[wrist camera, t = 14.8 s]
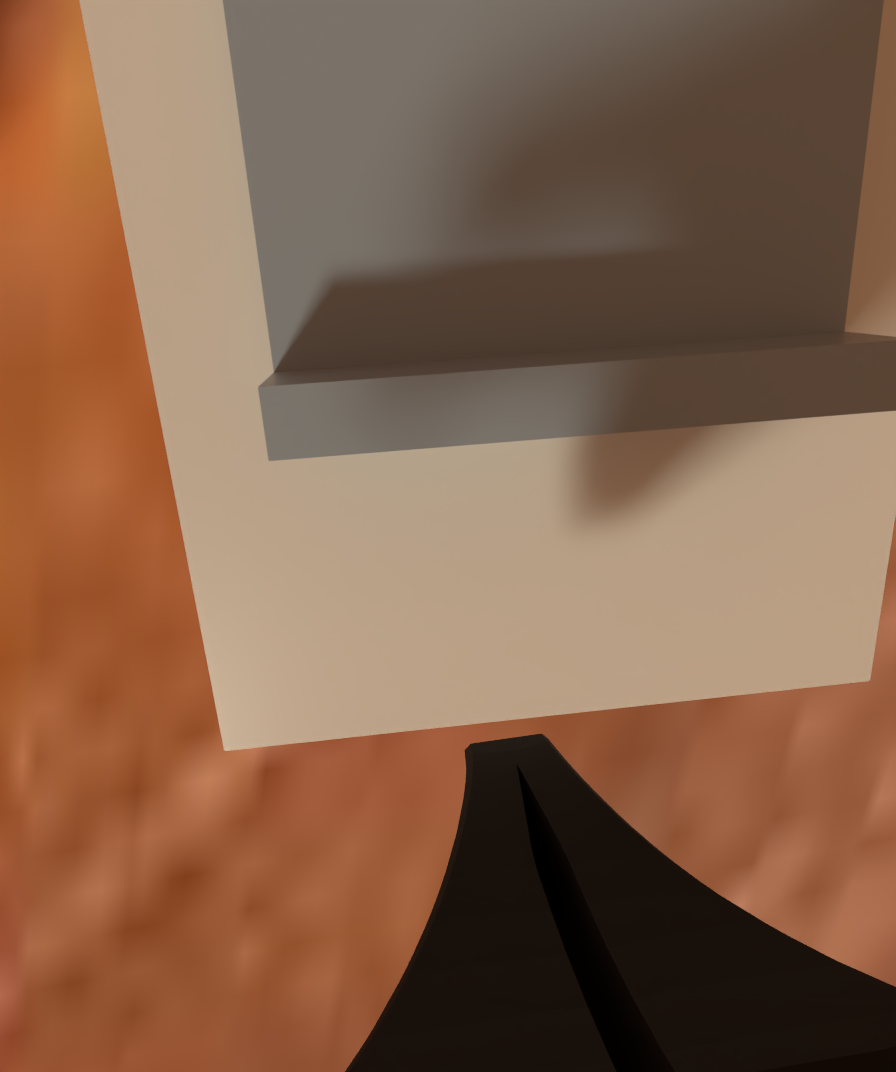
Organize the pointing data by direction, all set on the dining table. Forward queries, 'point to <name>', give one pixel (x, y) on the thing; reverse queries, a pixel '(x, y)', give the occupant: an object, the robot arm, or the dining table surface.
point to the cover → (554, 216)
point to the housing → (472, 479)
